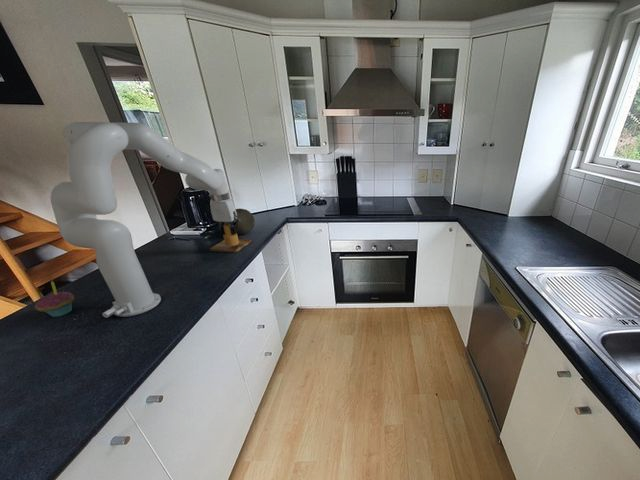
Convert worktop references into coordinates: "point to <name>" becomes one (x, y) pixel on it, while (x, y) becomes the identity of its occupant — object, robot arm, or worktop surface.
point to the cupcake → (55, 303)
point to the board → (223, 248)
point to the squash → (230, 236)
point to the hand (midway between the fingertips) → (229, 233)
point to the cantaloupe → (244, 221)
